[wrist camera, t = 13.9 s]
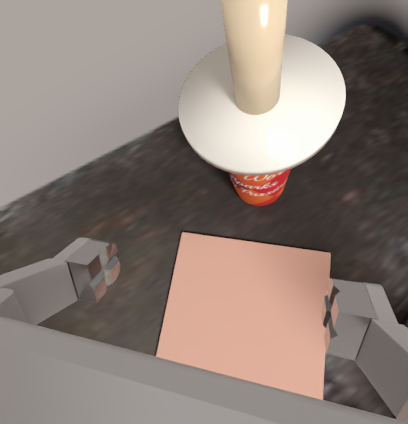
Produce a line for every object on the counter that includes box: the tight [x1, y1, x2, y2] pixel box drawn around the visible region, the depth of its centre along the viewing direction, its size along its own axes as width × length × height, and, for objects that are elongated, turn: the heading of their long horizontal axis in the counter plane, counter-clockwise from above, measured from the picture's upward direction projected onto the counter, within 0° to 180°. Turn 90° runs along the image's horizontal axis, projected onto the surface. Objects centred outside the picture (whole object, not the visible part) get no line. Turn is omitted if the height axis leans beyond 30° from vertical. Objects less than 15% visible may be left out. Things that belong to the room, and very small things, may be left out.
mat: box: [156, 232, 331, 400], centre depth 28 cm, size 16×16×1 cm
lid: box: [178, 0, 346, 176], centre depth 16 cm, size 11×11×8 cm
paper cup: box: [228, 169, 291, 206], centre depth 26 cm, size 8×8×14 cm
